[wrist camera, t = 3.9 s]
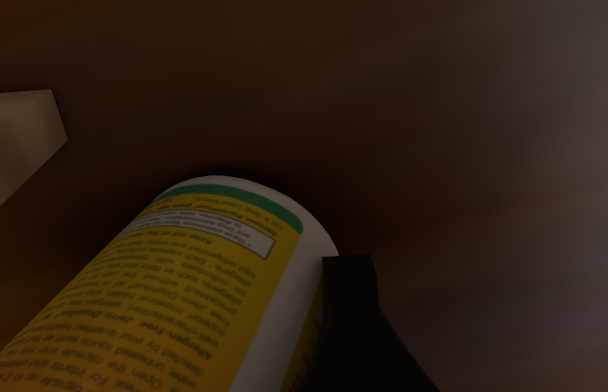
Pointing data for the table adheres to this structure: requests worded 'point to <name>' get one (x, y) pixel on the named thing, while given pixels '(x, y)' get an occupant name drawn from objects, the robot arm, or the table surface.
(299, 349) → the supplement bottle
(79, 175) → the table surface
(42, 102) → the beech corral
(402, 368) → the robot arm
